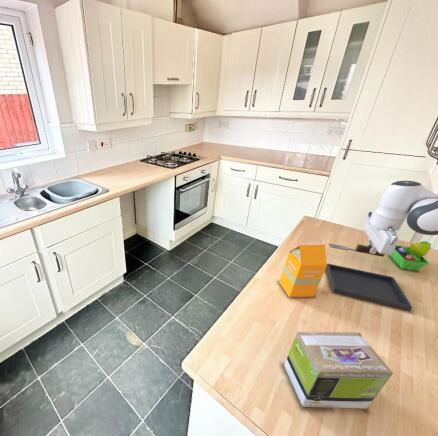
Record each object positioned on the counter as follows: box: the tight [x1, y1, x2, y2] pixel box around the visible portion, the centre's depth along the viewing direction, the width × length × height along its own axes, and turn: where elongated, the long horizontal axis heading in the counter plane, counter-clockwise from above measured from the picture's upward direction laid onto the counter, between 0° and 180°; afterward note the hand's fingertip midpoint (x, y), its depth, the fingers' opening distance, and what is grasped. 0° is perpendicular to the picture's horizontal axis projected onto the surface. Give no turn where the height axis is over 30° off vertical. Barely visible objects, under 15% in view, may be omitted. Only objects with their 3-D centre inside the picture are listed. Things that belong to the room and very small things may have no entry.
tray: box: [325, 262, 413, 312], centre depth 90 cm, size 21×15×2 cm
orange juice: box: [279, 244, 328, 298], centre depth 85 cm, size 8×9×20 cm
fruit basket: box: [389, 240, 432, 272], centre depth 99 cm, size 11×9×11 cm
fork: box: [328, 243, 386, 258], centre depth 101 cm, size 18×3×3 cm, turn 66°
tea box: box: [283, 331, 394, 410], centre depth 58 cm, size 15×10×15 cm, turn 88°
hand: (370, 250), depth 99 cm, fingers closed on fork
